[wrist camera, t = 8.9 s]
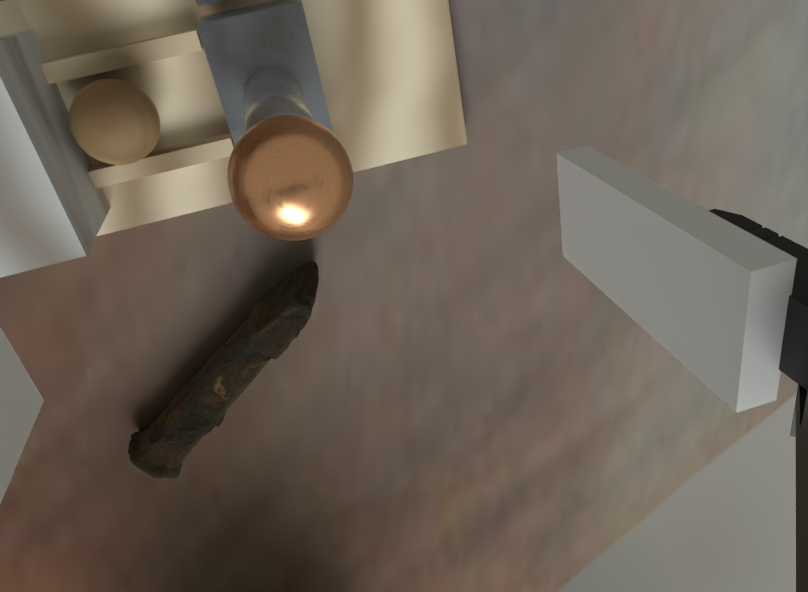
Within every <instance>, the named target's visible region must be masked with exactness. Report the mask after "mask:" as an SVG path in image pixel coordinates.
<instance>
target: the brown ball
mask: <svg viewBox="0 0 808 592" xmlns="http://www.w3.org/2000/svg"><path fill="white" fill-rule="evenodd" d="M69 124H70V129H71V132H72V134H73V136H74V138H75V140H76V142H77V143H78V144H79V146H80V147H81V148H82V149H83V150H84V151H85V152H86V153H87V154H89V155H90V156H91V157H93V158H95V159H97V160H99V161H101V162H104V163H108V164H113V165H126V164H131V163H135V162H137V161H139V160H141V159H143V158H144V157H146V156H147V155H148V154H149V153H150V152H151V151H152V150H153V148H154V147H155V145H156V143H157V141H158V138H159V135H160V118H159V114H158V111H157V109H156V107H155V105H154V103H153V101H152V100H151V99H150V97H149V96H148V95H147V94H146V93H145V92H144V91H142V90H141V89H140V88H138V87H137V86H135V85H133V84H131V83H129V82H127V81H123V80H119V79H100V80H97V81H94V82H91V83H89V84H87V85H86V86H84V87H83V88H82V89H81V90H80V91H79V92H78V93H77V94H76V96H75V97H74V99H73V101H72V103H71V106H70V110H69Z"/></svg>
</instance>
